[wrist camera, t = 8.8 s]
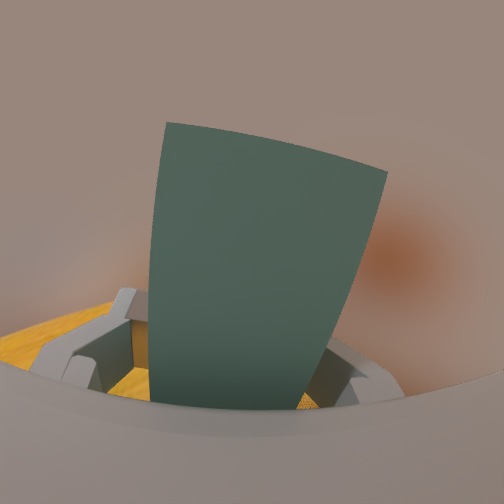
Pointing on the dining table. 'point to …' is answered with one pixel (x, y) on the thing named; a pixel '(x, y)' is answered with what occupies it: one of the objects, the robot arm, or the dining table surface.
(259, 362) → the teal green rectangular block
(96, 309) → the dining table surface
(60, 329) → the dining table surface
